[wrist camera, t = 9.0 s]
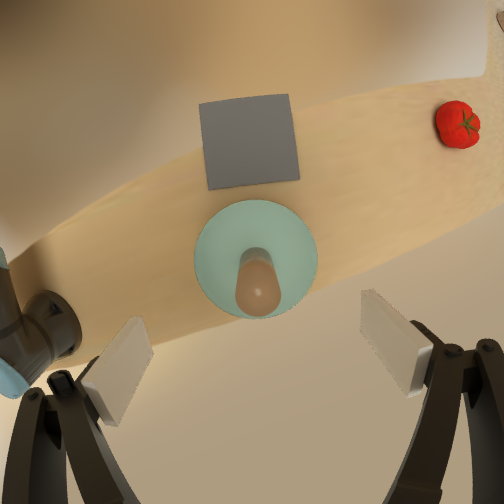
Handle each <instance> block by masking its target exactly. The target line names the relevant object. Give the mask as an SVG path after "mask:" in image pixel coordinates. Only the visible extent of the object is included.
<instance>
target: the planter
mask: <svg viewBox="0 0 504 504" xmlns="http://www.w3.org/2000/svg"><path fill="white" fill-rule="evenodd" d="M497 19H498V22H499V24H500V26H501V28H502V29H503V31H504V11H503V12H501V13H499V14H498V15H497Z"/></svg>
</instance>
